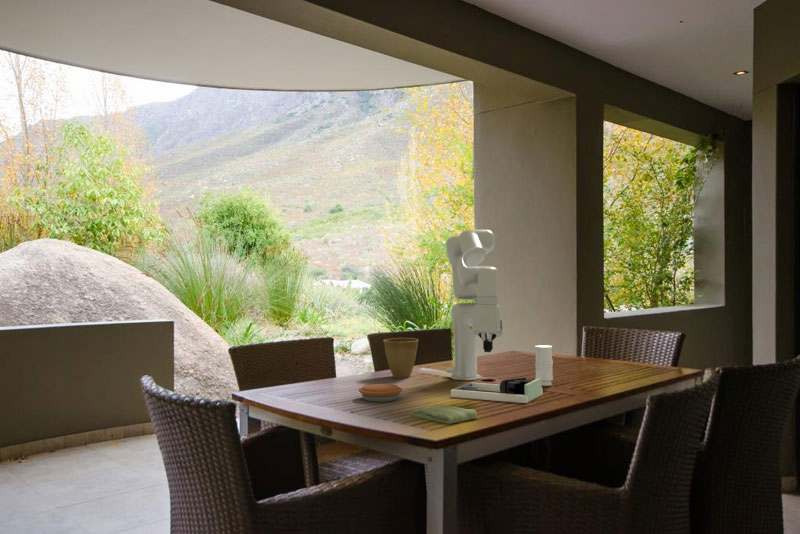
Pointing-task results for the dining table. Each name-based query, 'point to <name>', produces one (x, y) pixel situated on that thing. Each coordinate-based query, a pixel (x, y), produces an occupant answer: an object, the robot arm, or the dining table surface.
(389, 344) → the plant pot
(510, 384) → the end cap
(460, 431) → the dining table surface
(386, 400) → the pie
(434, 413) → the washcloth
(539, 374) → the candle
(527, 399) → the finger lane
